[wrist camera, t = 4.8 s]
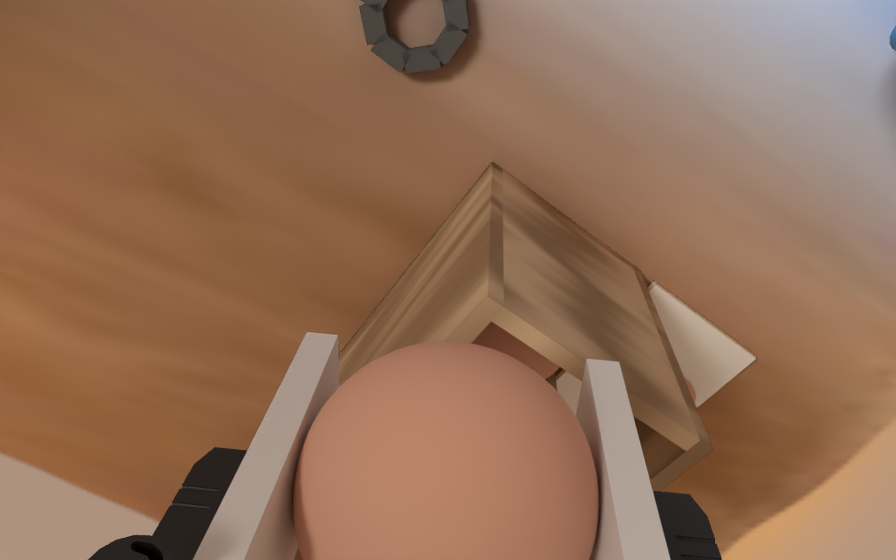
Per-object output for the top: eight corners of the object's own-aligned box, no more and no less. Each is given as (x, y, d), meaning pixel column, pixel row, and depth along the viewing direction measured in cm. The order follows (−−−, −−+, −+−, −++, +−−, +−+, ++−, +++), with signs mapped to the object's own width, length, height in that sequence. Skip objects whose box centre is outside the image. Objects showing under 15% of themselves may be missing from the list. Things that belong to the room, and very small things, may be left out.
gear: (346, 26, 28) (342, 29, 27) (402, -66, 26) (399, -66, 26) (428, 88, 29) (427, 92, 28) (488, 3, 27) (488, 5, 26)
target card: (444, 484, 40) (443, 491, 40) (654, 281, 33) (656, 286, 32) (534, 537, 42) (534, 544, 41) (753, 354, 34) (757, 361, 34)
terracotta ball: (425, 299, 33) (411, 369, 28) (498, 212, 31) (498, 270, 26) (518, 360, 35) (521, 438, 29) (595, 281, 32) (614, 351, 27)
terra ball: (329, 277, 15) (228, 472, 9) (601, 301, 14) (656, 515, 9) (336, 478, 17) (261, 715, 12) (564, 501, 17) (589, 754, 12)
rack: (301, 400, 38) (219, 597, 27) (492, 161, 30) (487, 296, 19) (432, 477, 40) (406, 689, 29) (640, 271, 32) (713, 449, 21)
